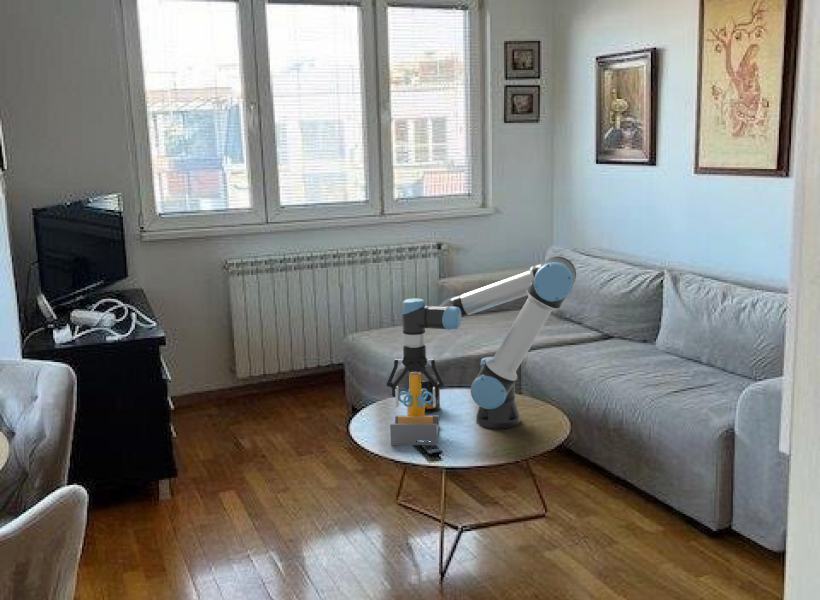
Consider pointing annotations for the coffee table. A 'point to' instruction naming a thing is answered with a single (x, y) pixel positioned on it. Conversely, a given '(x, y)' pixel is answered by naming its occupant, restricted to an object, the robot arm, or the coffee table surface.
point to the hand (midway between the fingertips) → (415, 406)
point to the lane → (414, 432)
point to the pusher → (415, 419)
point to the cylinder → (415, 396)
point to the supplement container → (428, 385)
